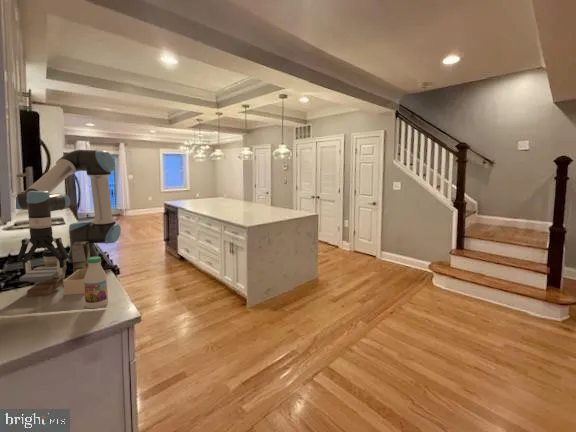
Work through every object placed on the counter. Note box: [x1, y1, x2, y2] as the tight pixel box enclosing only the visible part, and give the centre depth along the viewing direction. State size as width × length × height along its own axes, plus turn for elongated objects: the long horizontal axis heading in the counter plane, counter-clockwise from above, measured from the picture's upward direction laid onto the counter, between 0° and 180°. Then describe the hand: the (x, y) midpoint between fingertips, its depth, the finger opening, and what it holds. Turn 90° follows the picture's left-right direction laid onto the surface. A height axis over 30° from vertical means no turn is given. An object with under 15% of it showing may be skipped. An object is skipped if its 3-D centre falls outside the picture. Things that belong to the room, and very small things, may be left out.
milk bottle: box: [84, 256, 109, 310], centre depth 121 cm, size 8×8×20 cm
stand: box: [26, 277, 64, 298], centre depth 134 cm, size 15×7×4 cm, turn 15°
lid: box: [18, 264, 68, 283], centre depth 133 cm, size 16×11×3 cm
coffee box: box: [72, 241, 90, 273], centre depth 158 cm, size 9×6×16 cm
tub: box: [62, 269, 88, 296], centre depth 138 cm, size 16×8×7 cm, turn 15°
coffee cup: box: [41, 247, 68, 279], centre depth 147 cm, size 10×10×15 cm
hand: (44, 275), depth 133 cm, fingers closed on lid, 11 cm apart
